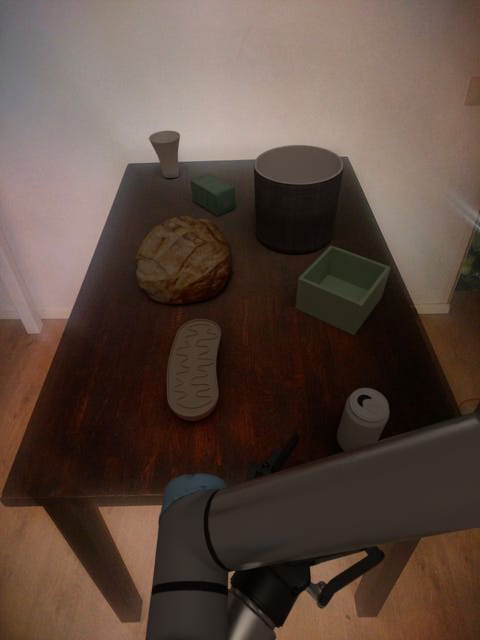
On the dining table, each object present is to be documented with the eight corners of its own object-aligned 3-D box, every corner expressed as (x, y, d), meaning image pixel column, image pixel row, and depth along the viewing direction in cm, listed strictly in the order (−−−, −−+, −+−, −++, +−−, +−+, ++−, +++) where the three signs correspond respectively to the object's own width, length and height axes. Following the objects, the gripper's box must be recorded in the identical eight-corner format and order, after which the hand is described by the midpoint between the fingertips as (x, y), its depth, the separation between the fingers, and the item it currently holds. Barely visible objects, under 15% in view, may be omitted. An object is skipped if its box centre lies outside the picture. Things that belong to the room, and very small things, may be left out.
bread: (217, 239, 111) (210, 189, 101) (251, 291, 92) (246, 236, 82) (133, 260, 106) (117, 210, 96) (149, 321, 87) (131, 266, 77)
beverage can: (352, 416, 69) (364, 378, 60) (382, 442, 65) (400, 405, 56) (328, 439, 66) (338, 401, 57) (358, 466, 62) (373, 431, 54)
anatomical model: (220, 429, 68) (217, 415, 64) (164, 431, 68) (159, 416, 65) (223, 333, 84) (221, 317, 80) (178, 335, 84) (174, 319, 80)
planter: (246, 219, 115) (243, 152, 101) (314, 206, 119) (321, 139, 104) (269, 262, 100) (270, 191, 86) (346, 246, 104) (360, 175, 89)
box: (218, 217, 117) (216, 194, 111) (192, 201, 124) (189, 179, 119) (236, 208, 120) (235, 186, 114) (210, 194, 127) (208, 172, 122)
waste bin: (381, 297, 89) (391, 267, 83) (353, 335, 82) (361, 305, 75) (326, 274, 96) (330, 245, 89) (295, 308, 88) (297, 278, 82)
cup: (186, 180, 135) (180, 140, 125) (156, 183, 134) (148, 144, 124) (185, 167, 142) (179, 129, 132) (157, 170, 141) (149, 132, 131)
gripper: (179, 543, 53) (266, 429, 64) (345, 697, 42) (415, 526, 53) (170, 527, 47) (266, 405, 59) (357, 699, 36) (432, 508, 48)
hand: (337, 462), depth 56 cm, fingers open, 13 cm apart
